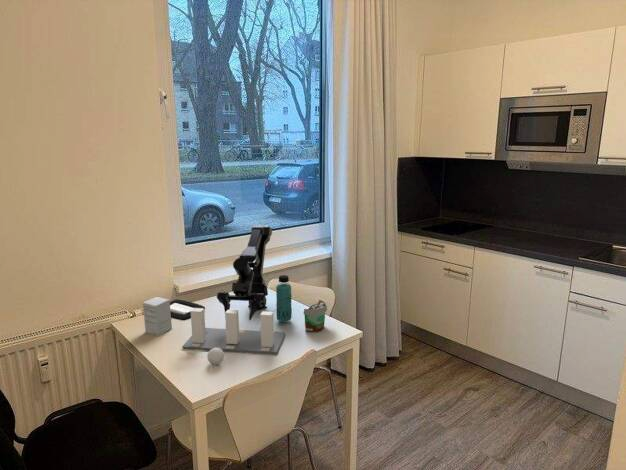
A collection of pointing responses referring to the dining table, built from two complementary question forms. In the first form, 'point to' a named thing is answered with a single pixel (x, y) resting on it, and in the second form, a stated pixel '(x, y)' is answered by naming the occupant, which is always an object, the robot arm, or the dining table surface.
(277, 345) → the three pillar stand
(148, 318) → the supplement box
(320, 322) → the food container
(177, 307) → the light switch
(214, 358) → the white sphere
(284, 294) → the beverage bottle
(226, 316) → the block
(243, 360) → the dining table surface
